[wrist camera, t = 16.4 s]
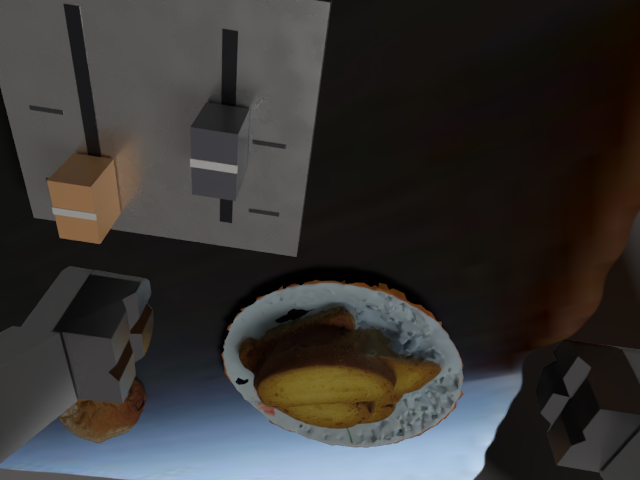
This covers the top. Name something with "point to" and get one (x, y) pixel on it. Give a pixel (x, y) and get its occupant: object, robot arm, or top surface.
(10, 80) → the mixing panel
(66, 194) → the orange fader
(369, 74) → the top surface
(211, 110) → the black fader
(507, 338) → the top surface
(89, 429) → the bread roll
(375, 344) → the food on plate
